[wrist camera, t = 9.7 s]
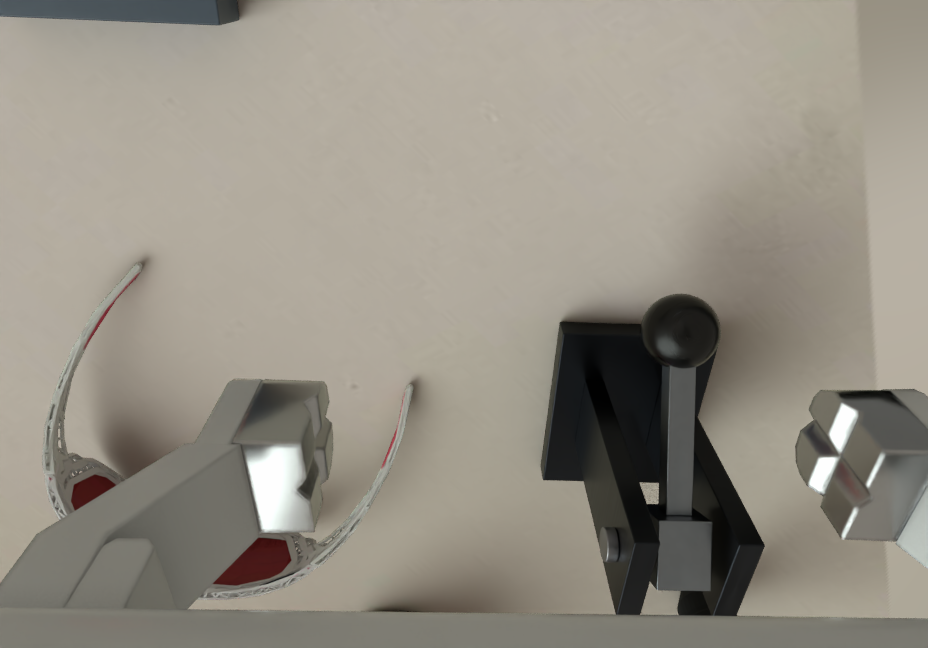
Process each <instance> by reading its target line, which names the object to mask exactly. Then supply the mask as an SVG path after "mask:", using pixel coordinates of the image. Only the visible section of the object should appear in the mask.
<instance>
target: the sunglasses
mask: <svg viewBox="0 0 928 648" xmlns="http://www.w3.org/2000/svg"><path fill="white" fill-rule="evenodd" d="M141 271H142V264H141V263H139V262H138V263H136V264H135V265H134V267H133V268H132V269H131V270H130V271H129V273H128V274H127V275H126V276H125V277H124V278H123V279H122V280H121V281H120V282H119V283H118V285H117V286H116V287H115V288H114V289H113V290H112V291H111V292H110V293H109V294H108V296H107V297H106V298H105V299H104V300H103V301H102V302H101V304H100V305H99V306H98V307H97V309H96V310H95V311H94V312H93V314H92V315H91V317H90V319H89V321H88V322H87V324H86V326H85V328H84V330H83V331H82V333H81V335H80V336H79V338H78V340H77V341H76V343H75V344H74V346H73V348H72V350H71V353H70V356H69V358H68V361H67V363H66V365H65V367H64V369H63V371H62V373H61V375H60V377H59V380H58V384H57V387H56V390H55V393H54V395H53V399H52V402H51V406H50V409H49V412H48V416H47V419H46V423H45V429H44V441H43V455H42V465H43V471H44V474H45V483H46V488H47V493H48V497H49V502H50V504H51V506H52V507H53V509H54V511H55V513H56V515H57V516H58V518H59V520H61V519H62V518H64V517H66V516H67V515H69V514H71V513H72V512H74V511H76V510H77V509H79V508H80V507H82V506H84V505H85V504H87V503H89V502H90V501H92V500H93V499H95V498H97V497H98V496H100V495H102V494H103V493H105V492H107V491H108V490H110V489H111V488H113V487H115V486H116V485H118V484H120V483H121V482H123V481H124V480H126V478H124V477H123V476H121V475H120V474H118V473H117V472H115V471H113V470H112V469H110V468H109V467H107V466H106V465H104V464H102V463H101V462H99V461H97V460H95V459H93V458H82V457H81V456H79V455H78V454H75V453H70V454H68V452H67V448H66V443H65V439H64V419H65V409H66V404H67V400H68V395H69V390H70V386H71V381H72V378H73V375H74V372H75V370H76V368H77V366H78V363H79V361H80V359H81V357H82V355H83V353H84V351H85V349H86V347H87V345H88V343H89V341H90V339H91V338H92V336H93V335H94V333H95V331H96V330H97V328H98V327H99V325H100V324H101V322H102V321H103V319H104V318H105V316H106V314H107V313H108V311H109V310H110V308H111V307H112V305H113V304H114V302H115V301H116V299H117V298H118V297H119V296H120V295H121V294H122V293H123V292H124V291H125V290H126V289H127V287H128V286H129V285H130V284H131V283H132V282H133V281H134V280H135V279H136V278H137V277H138V275H139V274H140V272H141ZM412 392H413V385H412V384H409V385H408V386H407V387H406V389H405V392H404V395H403V400H402V405H401V411H400V416H399V421H398V425H397V428H396V431H395V434H394V437H393V439H392V442H391V444H390V447H389V450H388V452H387V455H386V457H385V460H384V462H383V464H382V466H381V469H380V471H379V473H378V475H377V477H376V479H375V481H374V483H373V485H372V486H371V488H370V489H369V491H368V492H367V494H366V495H365V496H364V498H363V499H362V500H361V502H360V503H359V504H358V506H357V507H356V508H355V510H354V511H353V512H352V514H351V515H350V516H349V517H348V519H347V520H346V521H345V522H343V524H342V525H341V526H339V527H338V528H337V529H336V530H335V531H334V532H333V533H332V534H331V535H330V536H328V537H326V538H325V539H323V540H322V541H320V542H318V543H317V542H316V540H314V539H311V538H305V537H303V536H302V535H301V534H299V533H298V532H288V533H259V534H260V536H259V537H258V538H257V539H256V540H255V541H254V542H253V543H252V544H251V545H250V546H249V547H248V548H247V549H246V550H245V551H244V552H243V553H242V554H241V555H240V556H239V557H238V558H237V559H236V560H235V561H234V562H233V563H232V564H231V565H230V566H229V567H228V568H227V569H226V570H225V571H224V572H223V574H222V575H221V576H220V577H219V578H218V579H217V580H216V581H215V582H214V583H213V584H212V585H211V586H210V587H209V588H208V589H207V590H206V591H205V592H204V593H203V594H202V595H201V596H200V597H199V598H198V599H203V600H228V599H236V598H245V597H254V596H261V595H264V594H267V593H270V592H273V591H276V590H279V589H282V588H285V587H288V586H290V585H291V584H293V583H295V582H297V581H299V580H301V579H303V578H304V577H306V576H307V575H308V574H309V573H310V572H312V571H313V570H314V569H315V568H318V567H320V566H321V565H322V564H324V563H325V562H326V561H327V560H328V559H329V558H330V557H331V556H332V555H333V554H334V553H335V552H336V551H337V550H338V549H339V548H340V547H341V546H342V544H343V543H344V542H345V541H346V540H347V539H348V538H349V537H350V536H351V535H352V534H353V532H354V531H355V529H356V528H357V526H358V525H359V523H360V522H361V520H362V518H363V517H364V515H365V514H366V512H367V511H368V510H369V508H370V506H371V505H372V503H373V501H374V499H375V497H376V495H377V494H378V492H379V490H380V488H381V486H382V484H383V482H384V480H385V479H386V477H387V475H388V474H389V471H390V468H391V466H392V463H393V460H394V458H395V455H396V453H397V450H398V447H399V445H400V442H401V439H402V437H403V433H404V429H405V425H406V421H407V416H408V411H409V407H410V402H411V397H412ZM59 423H60V426H59ZM59 428H60V438H58V429H59ZM58 440H61V447H62V449H61V448H60V447H58ZM59 451H60V452H59ZM73 459H74V460H75V461H74V460H73ZM86 466H87V468H88V469H87V468H86ZM93 467H94V468H93ZM83 468H84V469H83ZM75 471H78V472H77V473H76V472H75ZM79 471H82V473H80V474H79ZM72 473H73V474H74V475H75V476H74V477H73V476H72ZM61 515H62V516H61ZM342 528H343V530H342ZM339 531H340V533H339V534H338V535H337V536H335V537H333V536H334V535H335V534H336V533H338V532H339ZM331 538H332V540H331V541H330V542H329V543H328V544H327V543H325V542H326V541H328V540H329V539H331ZM296 541H298V542H297V543H295V542H296ZM294 543H295V544H294ZM298 543H299V544H298ZM309 543H310V544H309ZM296 547H297V548H298V549H297V551H296ZM298 550H301V551H298ZM331 553H332V554H331ZM299 554H300V555H299ZM269 589H271V590H269ZM256 592H257V593H256ZM246 594H247V595H246ZM237 595H238V596H237Z"/></svg>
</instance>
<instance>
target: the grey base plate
mask: <svg viewBox="0 0 928 648" xmlns="http://www.w3.org/2000/svg"><path fill="white" fill-rule="evenodd" d="M0 16H3V17H28V18H52V19H76V20H101V21H125V22H149V23H174V24H198V25H222V24H226V23H230V22H234V21H238V20H239V13H238V5H237V0H0Z"/></svg>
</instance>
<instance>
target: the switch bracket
mask: <svg viewBox="0 0 928 648" xmlns="http://www.w3.org/2000/svg"><path fill="white" fill-rule="evenodd" d="M640 329H641V324H612V323H578V322H560V325H559V333H558V340H557V348H556V355H555V363H554V370H553V378H552V385H551V393H550V400H549V408H548V415H547V423H546V430H545V438H544V445H543V453H542V460H541V471H542V477H543V480H563V481H584V484H585V488H586V492H587V497H588V501H589V505H590V509H591V513H592V517H593V522H594V526H595V530H596V534H597V538H598V542H599V546H600V553H601V557H602V559H603V563H604V567H605V571H606V575H607V580H608V584H609V588H610V592H611V596H612V600H613V604H614V609H615V613H616V615H640V613H641V610H642V606H643V603H644V599H645V596H646V592H647V589H648V585H649V582H650V578H651V575H652V571H653V568H654V564H655V561H656V557H657V554H658V550H659V547H660V541H659V538H658V535H657V532H656V529H655V527H654V524H653V521H652V518H651V515H650V512H649V509H648V506H647V504H646V501H645V498H644V495H643V492H642V489H641V486H640V483H639V482H649V483H659V468H660V431H661V394H662V365H660V364H658V363H657V362H656V361H654V360H653V359H652V358H651V357H650V356H649V355H648V353H647V352H646V350H645V349H644V346H643V344H642V341H641V335H640ZM717 348H718V347H717ZM716 351H717V349H716ZM716 351H715V352H714V354H713V355H712V356H711V357H710V358H709V359H708V360H707V361H706V362H704V363H703V364H701V365H699V366H697V367H696V386H695V424H694V461H693V499H692V507H693V508H694V509H695V510H697V511H698V512H699V513H701V514H702V515H703V516H705V517H706V518H708V519H709V520H710V521H712V558H711V591H702V592H703V595H704V597H705V600H706V602H707V605H708V607H709V610H710V613H711V615H712V616H736V615H737V613H738V610H739V608H740V605H741V603H742V600H743V598H744V596H745V593H746V591H747V588H748V586H749V583H750V581H751V578H752V576H753V574H754V571H755V569H756V566H757V564H758V561H759V559H760V557H761V554H762V552H763V549H764V547H765V545H764V543H763V541H762V539H761V537H760V535H759V534H758V532H757V530H756V528H755V526H754V524H753V522H752V520H751V518H750V516H749V514H748V513H747V511H746V509H745V507H744V505H743V503H742V501H741V499H740V497H739V495H738V494H737V492H736V490H735V488H734V486H733V484H732V482H731V480H730V478H729V476H728V475H727V473H726V471H725V469H724V467H723V465H722V463H721V461H720V459H719V457H718V456H717V454H716V452H715V450H714V448H713V446H712V444H711V442H710V440H709V438H708V436H707V435H706V433H705V431H704V429H703V427H702V425H701V423H700V421H699V419H698V414H699V410H700V407H701V403H702V400H703V396H704V393H705V389H706V386H707V382H708V379H709V375H710V372H711V369H712V365H713V362H714V358H715V355H716Z"/></svg>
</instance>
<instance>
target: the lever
mask: <svg viewBox="0 0 928 648" xmlns="http://www.w3.org/2000/svg"><path fill="white" fill-rule="evenodd" d="M640 335H641V341H642V344H643V346H644V349H645V350H646V352H647V353H648V355H649V356H650V357H651V358H652V359H653V360H654V361H656V362H657V363H658V364H660V365H662V394H661V431H660V468H659V504H647V506H648V509H649V512H650V515H651V518H652V521H653V524H654V527H655V529H656V532H657V535H658V538H659V541H660V547H659V550H658V554H657V557H656V561H655V564H654V568H653V571H652V575H651V578H650V582H651V583H652V584H653V586H654V587H655V588H656V589H657V590H673V591H711V558H712V521H710V520H709V519H708V518H706V517H705V516H703V515H702V514H701V513H699V512H698V511H697V510H695V509H694V508H693V507H692V499H693V461H694V424H695V386H696V367H697V366H699V365H701V364H703V363H704V362H706V361H707V360H708V359H709V358H710V357H711V356H712V355H713V354H714V352H715V351H716V349H717V347H718V345H719V342H720V336H721V327H720V322H719V319H718V317H717V315H716V313H715V312H714V310H713V309H712V308H711V307H710V306H709V305H708V304H707V303H706V302H705V301H703V300H702V299H700V298H698V297H695V296H692V295H688V294H673V295H669V296H666V297H663V298H661V299H659V300H658V301H656V302H655V303H654V304H653V305H651V307H650V308H649V309H648V310H647V312H646V313H645V315H644V317H643V320H642V323H641V329H640Z"/></svg>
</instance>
